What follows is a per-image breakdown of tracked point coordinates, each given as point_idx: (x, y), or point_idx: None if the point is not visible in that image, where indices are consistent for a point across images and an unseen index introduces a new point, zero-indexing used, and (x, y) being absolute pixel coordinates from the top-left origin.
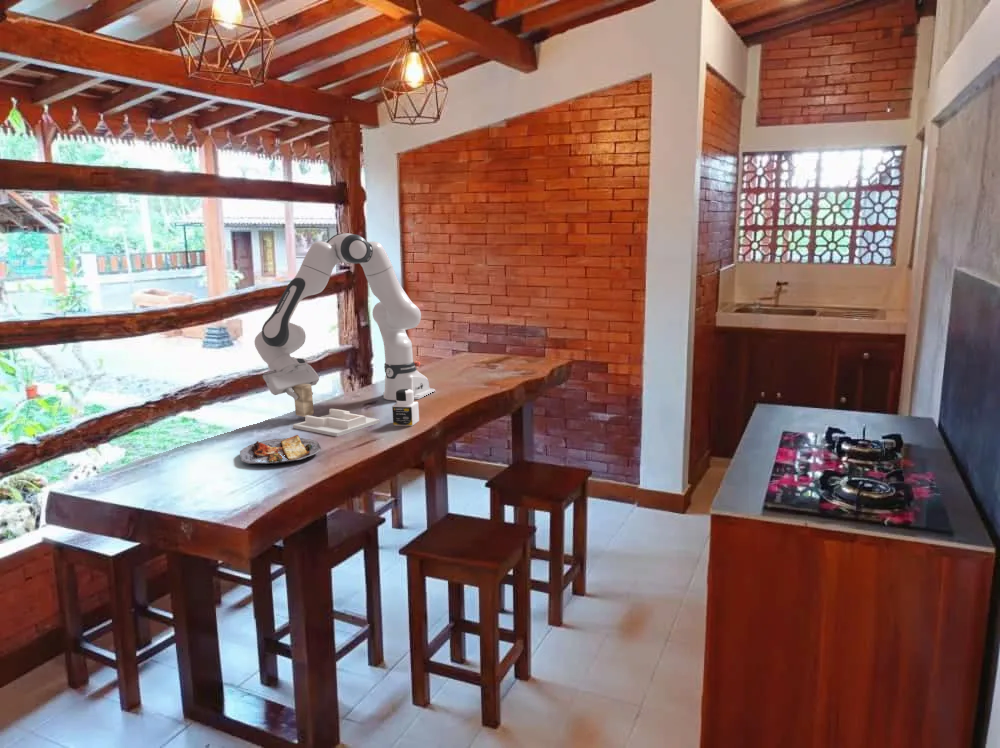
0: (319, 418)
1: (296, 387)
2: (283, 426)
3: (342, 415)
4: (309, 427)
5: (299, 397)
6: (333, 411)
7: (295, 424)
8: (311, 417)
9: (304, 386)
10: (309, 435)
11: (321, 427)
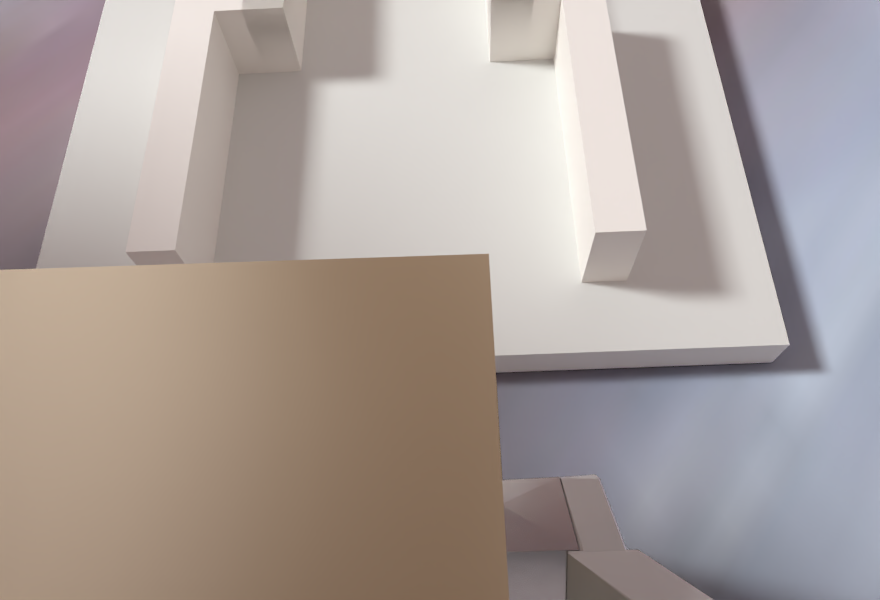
0: (602, 8)
1: (507, 574)
2: (829, 562)
3: (291, 7)
4: (714, 97)
5: (505, 487)
6: (196, 190)
7: (759, 328)
8: (625, 121)
9: (338, 262)
10: (792, 21)
11: (629, 12)
